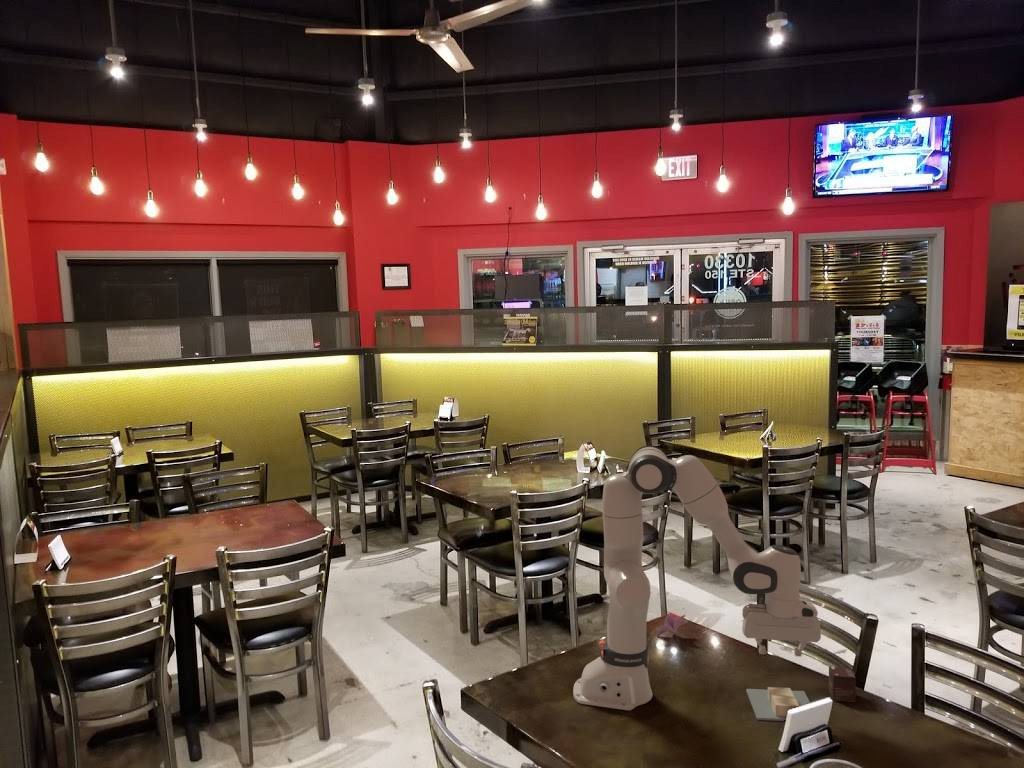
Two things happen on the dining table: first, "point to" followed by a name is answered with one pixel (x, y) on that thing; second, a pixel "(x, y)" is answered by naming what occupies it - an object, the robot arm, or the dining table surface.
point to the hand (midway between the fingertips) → (779, 654)
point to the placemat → (764, 707)
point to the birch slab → (781, 700)
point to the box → (842, 684)
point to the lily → (671, 625)
